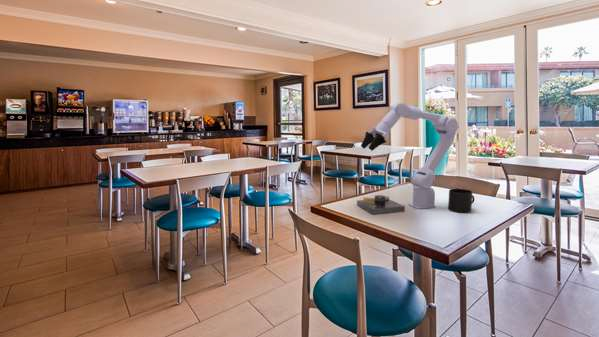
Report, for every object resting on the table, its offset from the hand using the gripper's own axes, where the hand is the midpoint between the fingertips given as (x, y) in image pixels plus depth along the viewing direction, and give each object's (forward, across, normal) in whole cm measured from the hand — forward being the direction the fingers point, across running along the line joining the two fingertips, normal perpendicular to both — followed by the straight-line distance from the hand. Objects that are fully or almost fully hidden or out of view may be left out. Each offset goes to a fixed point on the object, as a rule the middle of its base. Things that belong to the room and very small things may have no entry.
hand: (366, 148), depth 143 cm
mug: (-8, +13, +51) cm, 53 cm away
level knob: (+15, -2, +22) cm, 27 cm away
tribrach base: (+16, 0, +26) cm, 30 cm away
